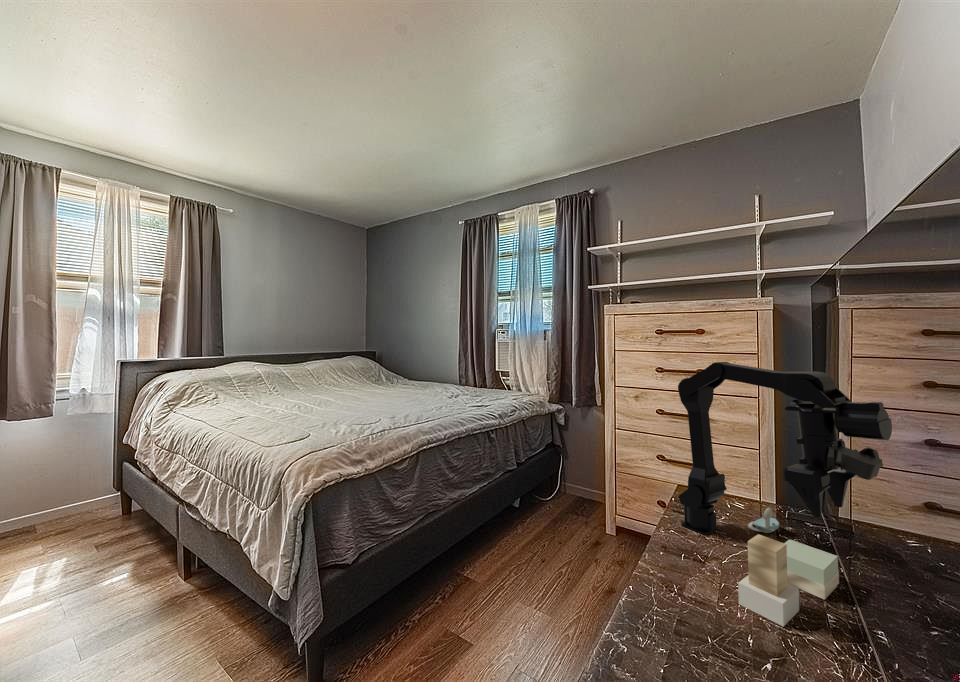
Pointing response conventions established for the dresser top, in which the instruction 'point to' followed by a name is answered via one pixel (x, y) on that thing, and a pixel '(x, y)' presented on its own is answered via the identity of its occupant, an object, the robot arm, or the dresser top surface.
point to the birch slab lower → (813, 585)
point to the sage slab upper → (810, 562)
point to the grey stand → (769, 602)
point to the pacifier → (765, 523)
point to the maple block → (767, 564)
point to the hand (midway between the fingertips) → (828, 511)
